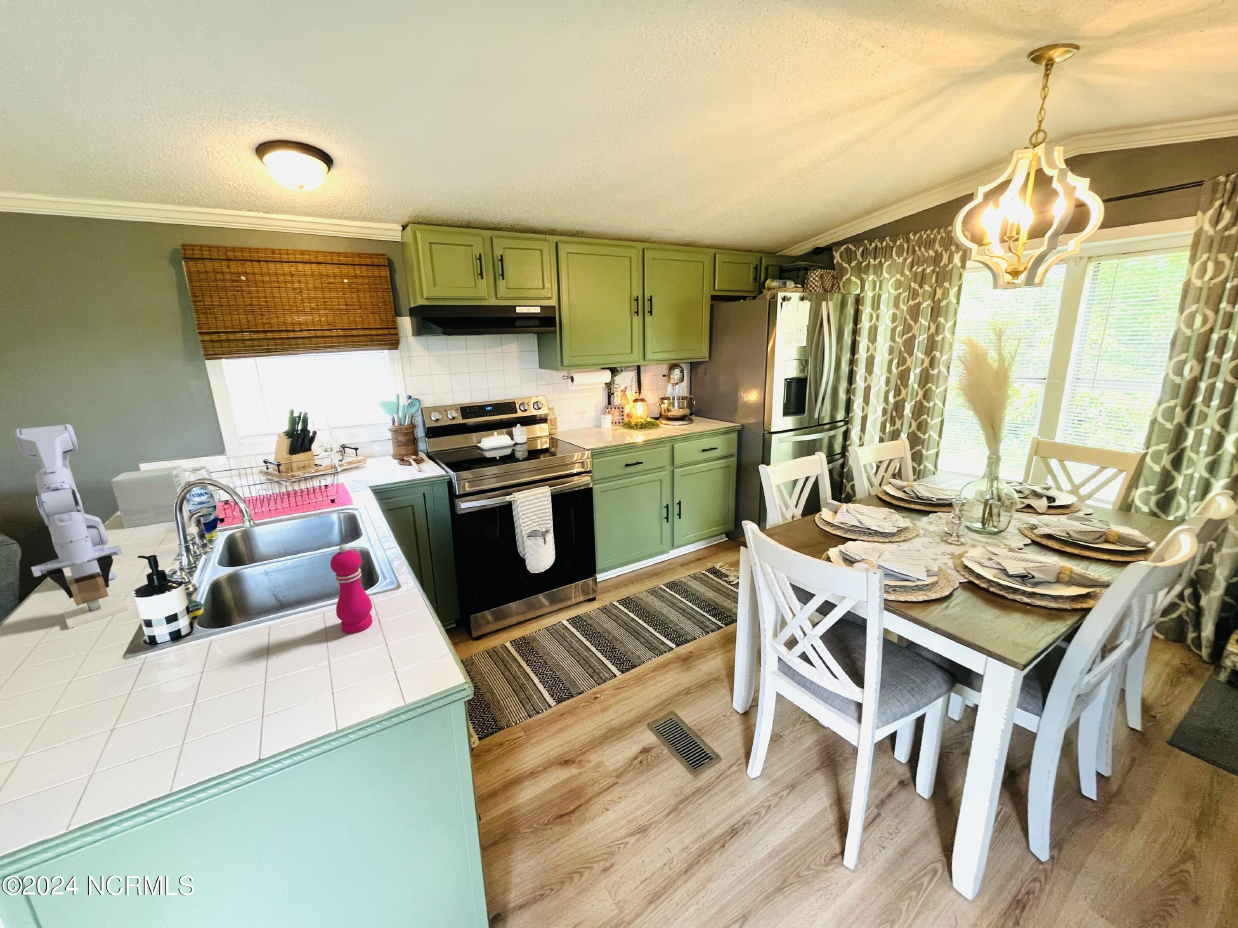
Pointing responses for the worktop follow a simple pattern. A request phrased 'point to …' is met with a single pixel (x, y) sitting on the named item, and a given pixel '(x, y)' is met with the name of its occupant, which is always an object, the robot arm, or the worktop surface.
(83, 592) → the walnut collar
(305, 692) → the worktop surface
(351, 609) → the pepper mill
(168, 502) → the supplement box
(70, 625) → the base plate
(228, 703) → the worktop surface
